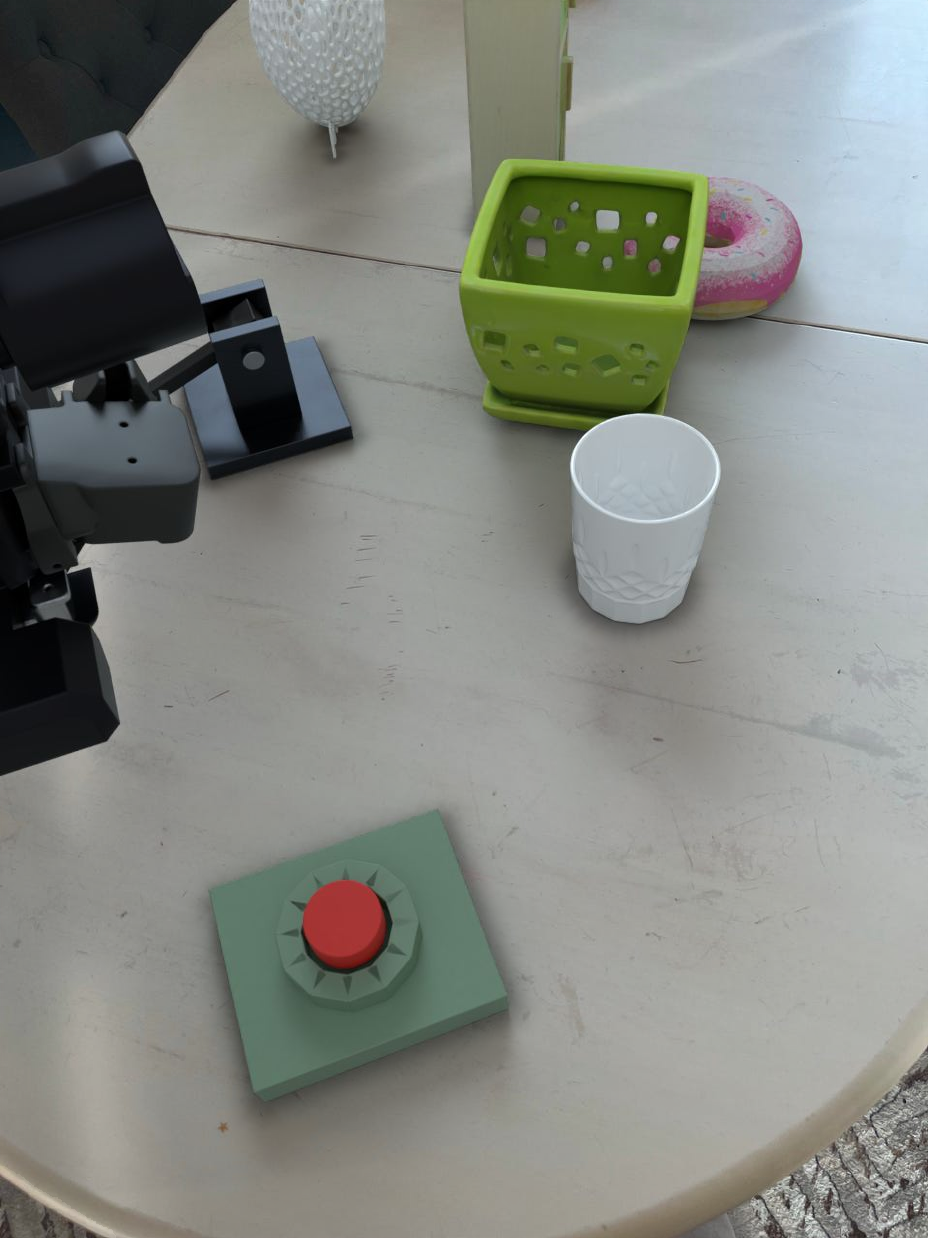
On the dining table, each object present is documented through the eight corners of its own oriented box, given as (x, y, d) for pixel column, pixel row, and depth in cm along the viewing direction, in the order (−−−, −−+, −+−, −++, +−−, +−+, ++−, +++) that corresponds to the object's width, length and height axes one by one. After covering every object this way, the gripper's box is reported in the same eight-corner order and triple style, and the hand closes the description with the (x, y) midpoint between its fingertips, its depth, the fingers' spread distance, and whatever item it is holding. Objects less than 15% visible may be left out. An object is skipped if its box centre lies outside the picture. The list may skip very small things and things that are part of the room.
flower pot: (670, 467, 69) (693, 310, 59) (462, 442, 72) (449, 286, 61) (692, 326, 77) (716, 165, 66) (504, 307, 79) (498, 149, 69)
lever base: (211, 480, 71) (174, 381, 64) (183, 385, 77) (146, 283, 69) (354, 438, 72) (333, 337, 65) (316, 347, 78) (293, 245, 71)
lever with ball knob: (97, 465, 71) (68, 442, 69) (91, 438, 73) (62, 414, 71) (278, 347, 69) (254, 319, 67) (268, 321, 70) (244, 293, 68)
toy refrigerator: (565, 236, 84) (571, -53, 67) (473, 232, 85) (456, -54, 68) (574, 178, 88) (583, -108, 71) (487, 174, 89) (474, -108, 72)
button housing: (263, 1103, 49) (244, 1084, 45) (218, 904, 54) (198, 874, 51) (508, 1009, 50) (506, 984, 47) (441, 825, 56) (434, 792, 53)
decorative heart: (290, 75, 100) (249, -134, 86) (402, 70, 100) (379, -141, 86) (264, 187, 90) (214, -29, 76) (389, 182, 89) (361, -37, 75)
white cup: (633, 656, 61) (648, 548, 53) (539, 577, 65) (539, 464, 57) (725, 580, 64) (752, 466, 56) (629, 509, 67) (641, 392, 59)
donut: (631, 344, 76) (637, 287, 72) (600, 232, 84) (603, 174, 80) (817, 324, 76) (833, 266, 72) (769, 214, 84) (781, 155, 80)
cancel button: (320, 981, 48) (314, 969, 47) (300, 908, 50) (293, 895, 48) (396, 953, 48) (391, 940, 47) (373, 882, 50) (368, 868, 49)
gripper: (198, 549, 32) (296, 782, 44) (106, 207, 42) (207, 476, 55) (-187, 666, 30) (30, 873, 43) (-184, 280, 40) (-10, 539, 53)
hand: (75, 667), depth 48 cm, fingers closed
